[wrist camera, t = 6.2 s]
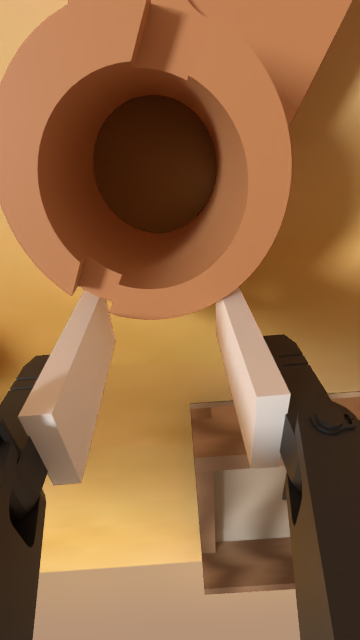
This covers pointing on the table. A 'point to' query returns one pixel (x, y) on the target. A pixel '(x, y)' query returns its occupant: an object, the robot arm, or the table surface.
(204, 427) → the wooden window with sill
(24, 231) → the bracket
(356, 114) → the table surface
